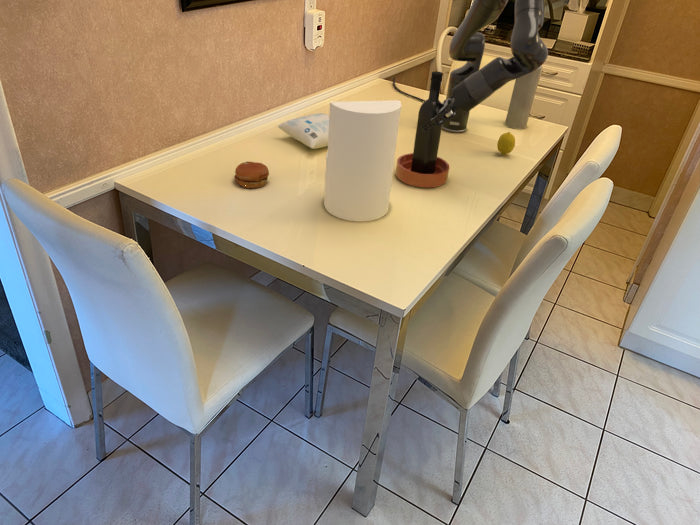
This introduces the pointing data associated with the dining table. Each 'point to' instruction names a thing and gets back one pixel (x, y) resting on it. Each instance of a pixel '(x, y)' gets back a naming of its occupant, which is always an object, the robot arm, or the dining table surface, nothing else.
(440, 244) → the dining table surface
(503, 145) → the lemon
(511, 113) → the thermos bottle
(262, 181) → the burger
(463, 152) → the dining table surface
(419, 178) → the dish
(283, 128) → the pouch
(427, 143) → the wine bottle
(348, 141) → the cylinder
